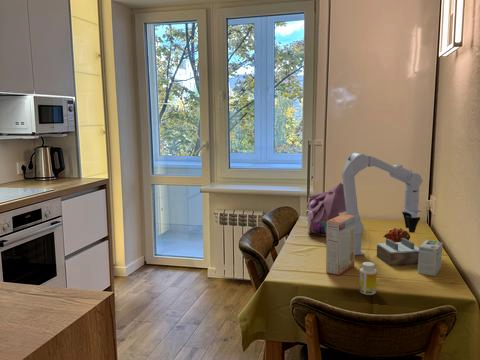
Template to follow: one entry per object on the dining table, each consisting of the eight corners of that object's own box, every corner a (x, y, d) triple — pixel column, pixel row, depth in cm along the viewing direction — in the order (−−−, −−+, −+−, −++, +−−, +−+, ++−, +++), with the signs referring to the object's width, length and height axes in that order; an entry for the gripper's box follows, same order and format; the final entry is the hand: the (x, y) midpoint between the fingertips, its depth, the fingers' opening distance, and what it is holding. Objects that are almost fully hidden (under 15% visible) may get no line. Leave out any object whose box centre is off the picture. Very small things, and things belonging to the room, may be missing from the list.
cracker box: (341, 263, 179) (342, 213, 176) (354, 266, 175) (356, 215, 172) (324, 272, 168) (325, 220, 165) (339, 276, 164) (340, 222, 161)
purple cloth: (347, 251, 210) (361, 196, 202) (299, 239, 214) (311, 185, 206) (346, 226, 243) (358, 178, 235) (305, 216, 247) (315, 169, 239)
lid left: (391, 253, 174) (391, 246, 173) (377, 244, 185) (377, 237, 185) (406, 252, 175) (407, 245, 174) (392, 243, 186) (392, 237, 186)
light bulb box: (423, 265, 175) (424, 239, 174) (441, 268, 172) (443, 242, 170) (417, 273, 167) (418, 246, 165) (435, 276, 163) (437, 249, 161)
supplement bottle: (378, 292, 149) (380, 263, 148) (371, 297, 145) (372, 267, 144) (363, 287, 153) (364, 259, 151) (356, 292, 149) (357, 263, 147)
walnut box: (390, 266, 174) (390, 254, 174) (376, 256, 186) (377, 245, 185) (422, 264, 176) (423, 252, 176) (407, 254, 188) (407, 243, 187)
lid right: (407, 252, 175) (407, 245, 174) (392, 243, 186) (393, 237, 186) (422, 251, 176) (423, 244, 175) (407, 243, 187) (407, 236, 187)
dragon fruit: (412, 249, 201) (385, 251, 204) (409, 235, 207) (383, 236, 210) (411, 238, 195) (383, 239, 199) (409, 223, 201) (382, 225, 205)
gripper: (425, 203, 181) (423, 234, 183) (417, 197, 195) (416, 226, 197) (407, 202, 182) (405, 234, 184) (401, 196, 196) (399, 225, 198)
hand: (410, 230), depth 191 cm, fingers open, 7 cm apart
